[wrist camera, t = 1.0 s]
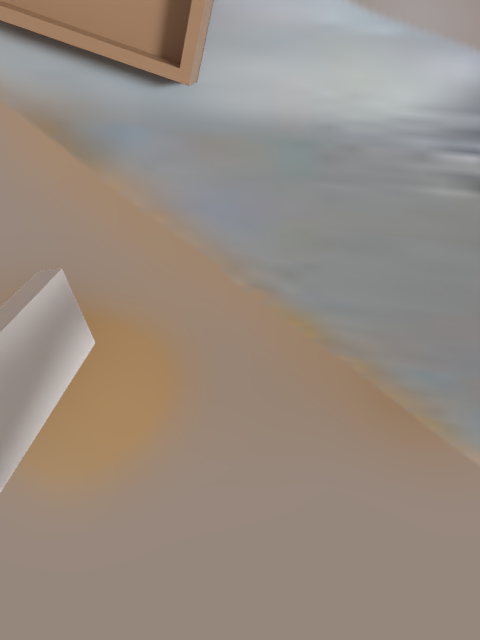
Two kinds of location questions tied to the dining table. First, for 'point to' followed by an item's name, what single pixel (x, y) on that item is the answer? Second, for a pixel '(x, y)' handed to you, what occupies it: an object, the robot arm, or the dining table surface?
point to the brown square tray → (124, 30)
